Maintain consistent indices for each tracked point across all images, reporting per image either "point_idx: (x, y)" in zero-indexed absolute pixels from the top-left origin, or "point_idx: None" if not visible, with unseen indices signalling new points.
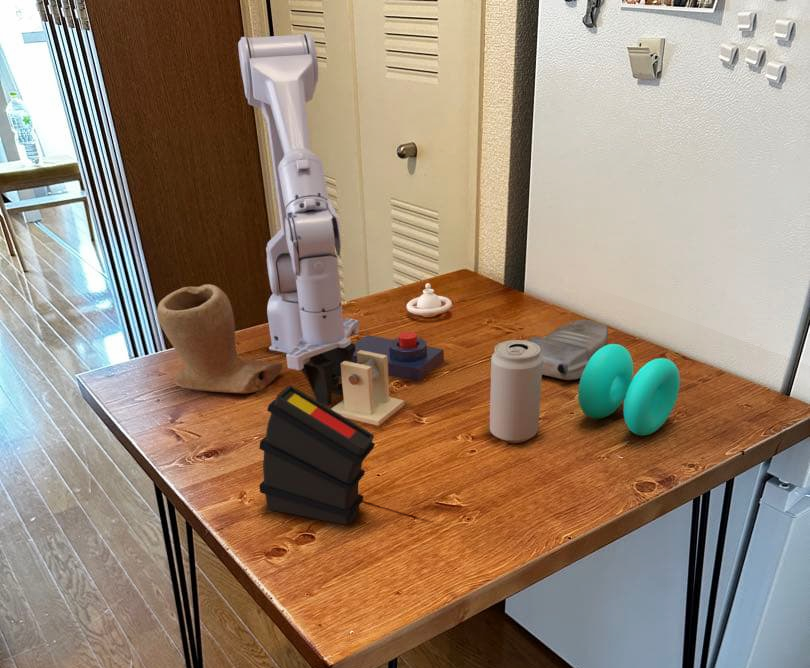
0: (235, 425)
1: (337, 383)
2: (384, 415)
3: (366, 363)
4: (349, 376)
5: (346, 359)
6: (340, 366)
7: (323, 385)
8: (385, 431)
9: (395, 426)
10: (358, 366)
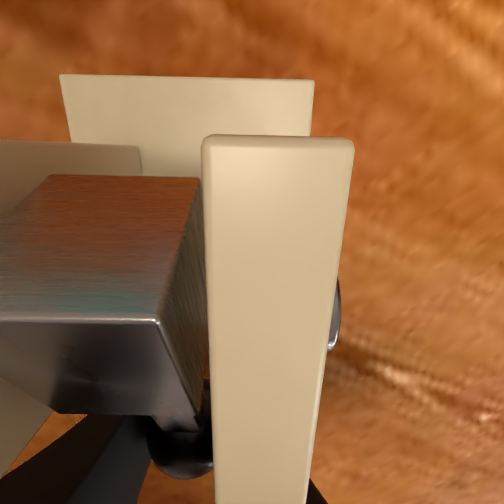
0: (429, 483)
1: (203, 392)
2: (248, 83)
3: (110, 310)
4: (328, 349)
5: (58, 498)
6: (107, 467)
7: None
8: (326, 36)
9: (264, 14)
10: (301, 350)
